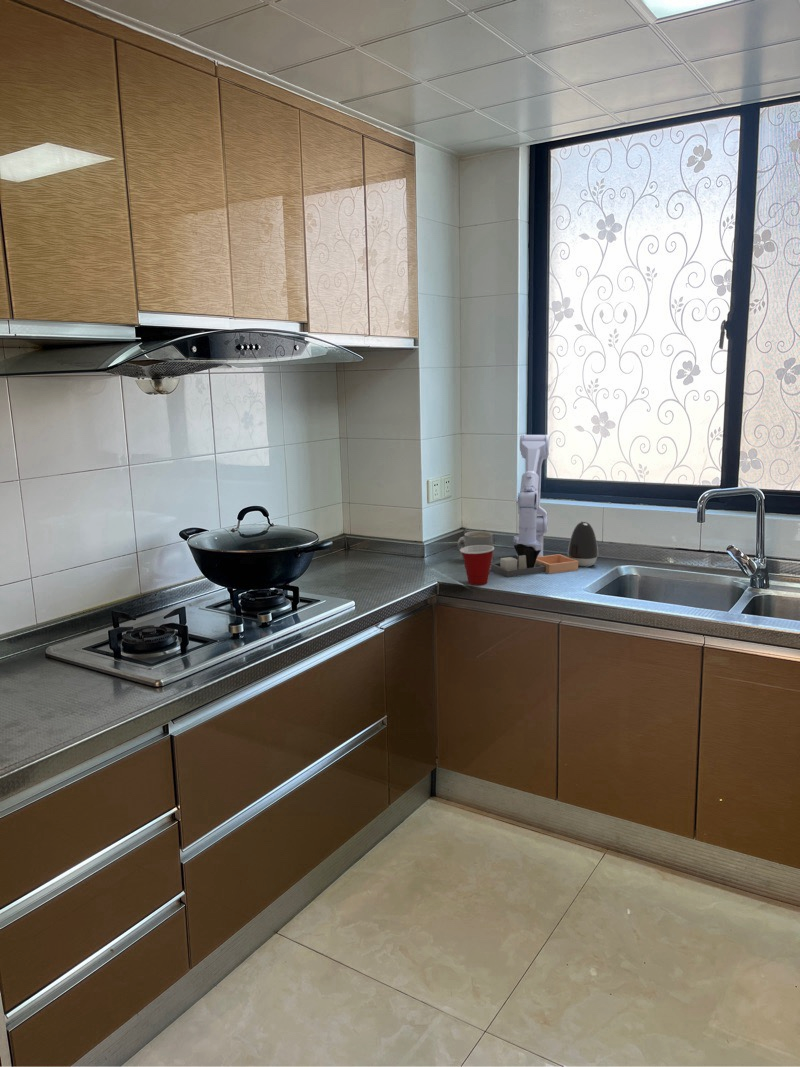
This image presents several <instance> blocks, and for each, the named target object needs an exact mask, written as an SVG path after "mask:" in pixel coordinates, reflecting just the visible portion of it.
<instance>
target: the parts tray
mask: <svg viewBox="0 0 800 1067" xmlns="http://www.w3.org/2000/svg"><path fill="white" fill-rule="evenodd" d="M490 570H491V571H493V572H495V573H497V574H499V575H502V576H504V577H507V578H512V577H520V576H527V575H528V576H529V575H537V574H542V573H543V574H545V573H546V572H545V566H543V565H540V564H538V563H535V567H533V568H525V569H519V559H517V570H509V571H508V570H506V569H504V568H501V567H500V562H494V563H491V565H490Z"/></svg>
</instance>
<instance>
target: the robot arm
mask: <svg viewBox="0 0 800 1067" xmlns="http://www.w3.org/2000/svg"><path fill="white" fill-rule="evenodd" d="M519 437H520V438H519V451H520V455H521V458H523V459H525V472H524V473H522V475H521V481H520V489H519V492H518V494H517V501H516V502H517V509H518V510H517V513H518V535H515V536H513V543H516V544H514V545H513V548H514V549H515V552H516V554H515V556H517V559H519V556H522V555H526V562H527V568H533V567H534V566H535V562H536V559H537V557H541V556H544V534H546V533H548V529H549V528H548V527H549V526H548V524H549V522H548V521H549V520H548V513H547V510H545V508H543V507H541V485H542V484H541V483H542V465H543V463H544V462H543V461H544V460H546V459H549V454H550V436H549V435H548V434H521V435H520V436H519Z"/></svg>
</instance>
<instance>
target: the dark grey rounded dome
mask: <svg viewBox="0 0 800 1067" xmlns="http://www.w3.org/2000/svg"><path fill="white" fill-rule="evenodd" d="M595 533H596V532H595V531H594V529H593V527H592V525H591V524H590V523H588V522H587V521H580V522H579V523H577V524H576V526H575V527H574V529H573V531H572V533H571V536H570V540H569V542H568V548H567V557H568V558H571V559H574V560H577V561H578V567H585V568H588V567H592V566H593V565H595V563H596V562H597V559H598V557H599V547H598V541H597V536H596V534H595Z"/></svg>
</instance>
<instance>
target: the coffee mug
mask: <svg viewBox="0 0 800 1067" xmlns="http://www.w3.org/2000/svg"><path fill="white" fill-rule="evenodd" d="M493 536H494V534H493V532H491V531H482V530H481V531H480V530H475V531H467V532H465V533H464V535H463V536H461V537H459V539H458V540H457V549H458V550H459V552H460V553H461V554H462V552H461V551H460V549H462V548H464V547H468V546H474V545H490V546H494V543H493V542H494V539H493V538H494V537H493ZM463 544H464V545H463ZM463 546H464V547H463ZM493 554H494V553H493ZM493 554H492V559H491V563H492V562H493V560H494V559H493V558H494V555H493Z"/></svg>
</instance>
